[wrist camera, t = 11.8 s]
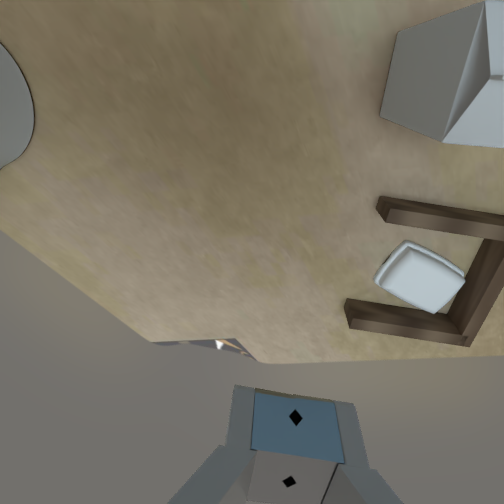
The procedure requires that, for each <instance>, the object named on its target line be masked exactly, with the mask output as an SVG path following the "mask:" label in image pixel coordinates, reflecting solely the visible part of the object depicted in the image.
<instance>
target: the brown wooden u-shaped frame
mask: <svg viewBox="0 0 504 504" xmlns="http://www.w3.org/2000/svg"><path fill="white" fill-rule="evenodd" d="M376 210H377V211H378V213H379V214H380V216H381V217H382V218H383V220H384V221H385V222H386V223H392V224H398V225H404V226H411V227H417V228H423V229H430V230H436V231H442V232H449V233H455V234H461V235H468V236H474V237H480V238H485V239H484V241H483V243H482V245H481V247H480V249H479V251H478V253H477V255H476V257H475V259H474V261H473V263H472V265H471V267H470V269H469V271H468V273H467V275H466V277H465V283H464V284H463V286H462V287H461V288H460V289H459V292H458V294H457V296H456V298H455V300H454V302H453V304H452V306H451V308H450V310H449V312H448V314H442V313H435V314H432V313H430V312H427V311H423V310H417V309H411V308H404V307H398V306H392V305H385V304H379V303H373V302H366V301H360V300H354V299H347V300H346V303H345V306H344V310H345V314H346V318H347V321H348V325H349V328H350V329H357V330H363V331H370V332H376V333H382V334H389V335H395V336H401V337H408V338H414V339H420V340H427V341H433V342H439V343H446V344H452V345H459V346H465V347H470V345H471V344H472V342H473V340H474V338H475V336H476V335H477V333H478V331H479V329H480V328H481V326H482V324H483V322H484V320H485V319H486V317H487V315H488V313H489V311H490V310H491V308H492V306H493V304H494V302H495V301H496V299H497V297H498V295H499V293H500V292H501V290H502V288H503V286H504V215H498V214H491V213H485V212H479V211H472V210H466V209H460V208H453V207H447V206H441V205H434V204H428V203H422V202H415V201H409V200H403V199H396V198H390V197H384V196H380V197H379V200H378V203H377V206H376Z"/></svg>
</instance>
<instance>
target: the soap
mask: <svg viewBox="0 0 504 504" xmlns="http://www.w3.org/2000/svg"><path fill="white" fill-rule="evenodd" d="M390 255H391V256H390V257H389V258H388V260H387V261H386V262H385V263H384V265H383V264H382V265H381V266H380V268H379V269H378V271H377V272H376V274H375V276H374V278H373V280H374V282H375V283H376V284H377V285H378V286H380V287H381V288H383V289H385V290H386V291H388V292H389V293H391V294H393V295H395V296H396V297H398V298H400V299H402V300H404V301H405V302H407V303H409V304H411V305H414V306H416V307H418V308H420V309H422V310H425V311H427V312H430V313H432V314H435V313H436V312H437V311H438V310H440V309H441V308H442V307H443V306H444V305H445V304H446V303H447V302H448V301H449V300H450V299H451V298H452V297H453V296H454V295H455V294H456V293H457V292H458V291H459V289H460V288H461V287H462V286H463V284H464V283H465V279H464V278H463V277H464V272H463V271H462V270H461V269H460V268H459V267H457V266H456V265H454V264H453V263H451V262H450V261H449V260H447V259H445V258H444V257H442V256H440V255H439V254H437V253H435V252H433V251H431V250H429V249H427V248H425V247H423V246H421V245H418V244H416V243H414V242H411V241H409V240H405V241H403V242H402V243H401V244H400V245H399V246H398V247H397V248H396V249H395V250H394V251H393V252H392V253H391V254H390Z"/></svg>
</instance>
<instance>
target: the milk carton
mask: <svg viewBox="0 0 504 504" xmlns="http://www.w3.org/2000/svg"><path fill="white" fill-rule="evenodd" d="M380 117H382V118H384V119H387V120H389V121H392V122H394V123H396V124H399V125H401V126H404V127H406V128H409V129H411V130H413V131H416V132H418V133H421V134H423V135H426V136H428V137H431V138H433V139H435V140H438V141H440V142H443V143H449V144H461V145H473V146H485V147H497V148H504V1H499V0H486V1H482V2H479V3H476V4H473V5H471V6H468V7H465V8H462V9H460V10H457V11H454V12H451V13H449V14H446V15H443V16H440V17H438V18H435V19H432V20H430V21H427V22H424V23H421V24H419V25H416V26H413V27H410V28H408V29H405V30H402V31H399V32H398V34H397V38H396V43H395V47H394V52H393V56H392V61H391V65H390V70H389V74H388V79H387V84H386V88H385V93H384V97H383V102H382V106H381V111H380Z"/></svg>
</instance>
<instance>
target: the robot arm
mask: <svg viewBox="0 0 504 504" xmlns="http://www.w3.org/2000/svg"><path fill="white" fill-rule="evenodd" d="M33 124H34V112H33V104H32V99H31V95H30V92H29V89H28V86H27V84H26V81H25V79H24V77H23V75H22V73H21V71H20V69H19V67H18V66H17V64H16V63H15V61H14V60H13V58H12V57H11V56H10V54H9V53H8V52H7V50H6V49H5V48H4V47H3V46H2V45H1V44H0V169H1V168H2V167H3V166H5V165H6V164H8V163H10V162H12V161H14V160H15V159H16V158H18V157H19V156H20V155H21V154H22V153H23V151H24V150H25V149H26V147H27V145H28V143H29V141H30V138H31V135H32V131H33ZM246 500H247V501H256V502H263V503H271V504H404V503H403V502H402V501H401V500H400V498H399V497H398V496H397V495H396V493H395V492H394V491H393V490H392V488H391V487H390V486H389V485H388V484H387V483H386V481H385V480H384V479H383V477H382V476H381V475H380V474H379V472H378V471H377V470H375V469H370V467H369V463H368V459H367V454H366V450H365V446H364V441H363V437H362V433H361V429H360V425H359V420H358V416H357V412H356V408H355V406H354V404H353V403H348V402H341V401H335V400H330V399H323V398H316V397H309V396H301V395H295V394H293V395H291V394H286V393H281V392H275V391H270V390H264V389H259V388H255V389H254V388H252V387H246V386H241V385H235V386H234V390H233V397H232V403H231V409H230V415H229V422H228V427H227V434H226V440H225V446H222V445H219V446H218V447H217V448H216V449H215V450H214V451H213V453H212V454H211V455H210V456H209V457H208V458H207V459H206V461H205V462H204V463H203V464H202V465H201V466H200V467H199V468H198V469H197V470H196V472H195V473H194V474H193V475H192V476H191V477H190V478H189V479H188V481H187V482H186V483H185V484H184V485H183V486H182V487H181V488H180V490H179V491H178V492H177V493H176V494H175V495H174V496H173V497H172V498H171V499H170V501H169V502H168V503H167V504H245V503H246Z"/></svg>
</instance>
